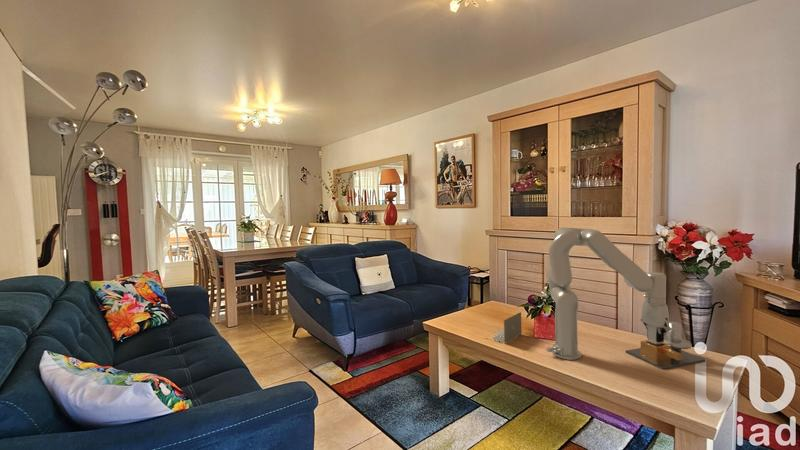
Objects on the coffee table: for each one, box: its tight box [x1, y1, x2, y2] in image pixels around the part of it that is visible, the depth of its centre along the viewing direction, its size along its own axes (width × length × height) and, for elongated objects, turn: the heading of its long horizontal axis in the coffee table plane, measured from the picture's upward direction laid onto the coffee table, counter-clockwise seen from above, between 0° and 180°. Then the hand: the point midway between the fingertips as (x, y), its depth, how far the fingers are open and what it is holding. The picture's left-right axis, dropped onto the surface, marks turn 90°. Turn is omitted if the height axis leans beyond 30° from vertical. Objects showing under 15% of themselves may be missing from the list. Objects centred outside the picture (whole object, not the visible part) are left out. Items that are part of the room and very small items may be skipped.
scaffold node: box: [625, 320, 706, 370], centre depth 158 cm, size 24×20×15 cm
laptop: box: [492, 312, 523, 345], centre depth 191 cm, size 18×12×13 cm
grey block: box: [647, 324, 663, 346], centre depth 157 cm, size 4×4×9 cm
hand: (655, 339), depth 158 cm, fingers closed on grey block, 3 cm apart
